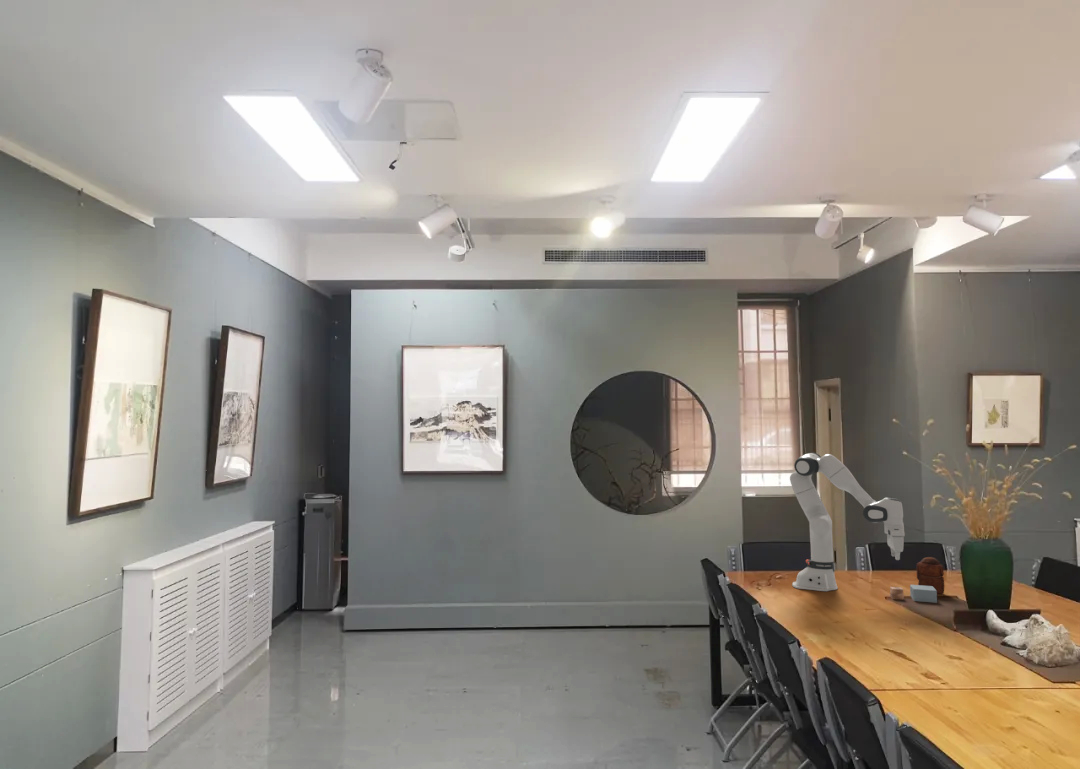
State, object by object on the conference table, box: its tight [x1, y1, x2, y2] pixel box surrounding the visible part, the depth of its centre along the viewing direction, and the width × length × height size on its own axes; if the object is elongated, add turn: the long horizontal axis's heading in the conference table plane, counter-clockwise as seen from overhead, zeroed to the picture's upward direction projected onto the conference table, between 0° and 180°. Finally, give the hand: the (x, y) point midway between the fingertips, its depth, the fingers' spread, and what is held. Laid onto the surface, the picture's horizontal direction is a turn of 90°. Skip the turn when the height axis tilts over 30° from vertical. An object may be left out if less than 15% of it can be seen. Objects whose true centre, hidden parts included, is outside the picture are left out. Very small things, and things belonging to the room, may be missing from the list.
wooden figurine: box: [915, 556, 945, 595], centre depth 341 cm, size 12×6×18 cm, turn 72°
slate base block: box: [909, 584, 938, 604], centre depth 327 cm, size 10×10×6 cm
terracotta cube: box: [889, 586, 904, 601], centre depth 330 cm, size 5×5×5 cm
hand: (895, 558), depth 331 cm, fingers open, 8 cm apart
